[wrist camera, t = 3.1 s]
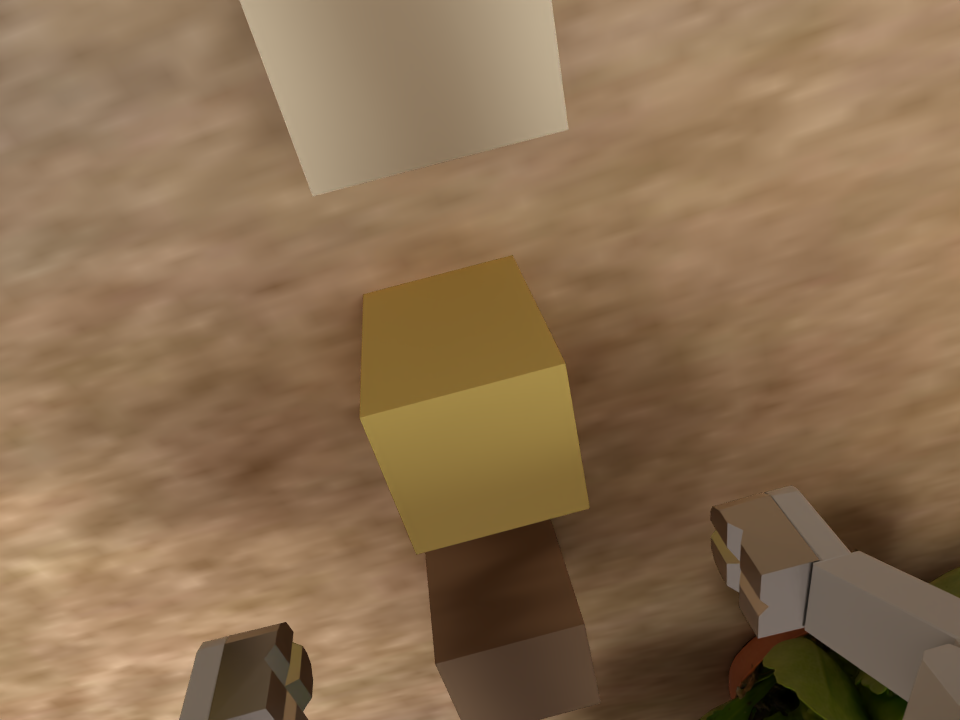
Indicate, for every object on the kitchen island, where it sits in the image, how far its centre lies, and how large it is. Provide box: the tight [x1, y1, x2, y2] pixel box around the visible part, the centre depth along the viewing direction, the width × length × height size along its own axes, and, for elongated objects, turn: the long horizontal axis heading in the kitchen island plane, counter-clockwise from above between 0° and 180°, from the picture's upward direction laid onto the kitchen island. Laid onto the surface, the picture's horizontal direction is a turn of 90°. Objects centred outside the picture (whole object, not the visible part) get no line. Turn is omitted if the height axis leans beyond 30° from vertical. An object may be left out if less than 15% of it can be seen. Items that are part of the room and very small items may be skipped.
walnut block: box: [425, 519, 601, 720], centre depth 22 cm, size 4×4×6 cm
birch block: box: [240, 0, 568, 196], centre depth 12 cm, size 4×4×6 cm
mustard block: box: [360, 255, 590, 555], centre depth 17 cm, size 4×4×6 cm
